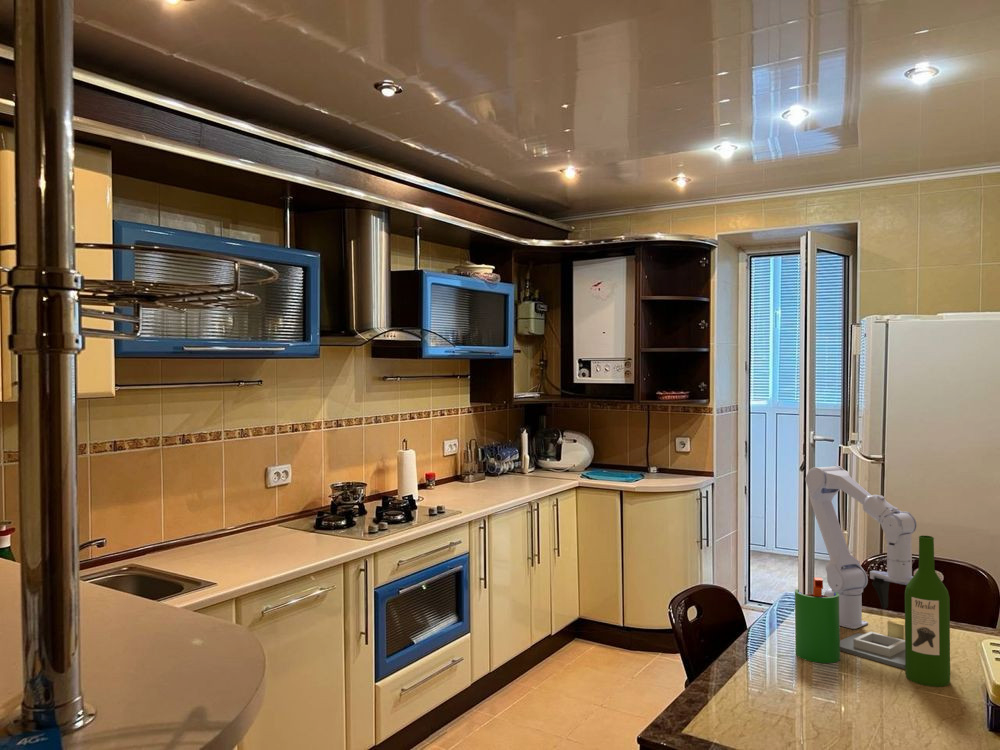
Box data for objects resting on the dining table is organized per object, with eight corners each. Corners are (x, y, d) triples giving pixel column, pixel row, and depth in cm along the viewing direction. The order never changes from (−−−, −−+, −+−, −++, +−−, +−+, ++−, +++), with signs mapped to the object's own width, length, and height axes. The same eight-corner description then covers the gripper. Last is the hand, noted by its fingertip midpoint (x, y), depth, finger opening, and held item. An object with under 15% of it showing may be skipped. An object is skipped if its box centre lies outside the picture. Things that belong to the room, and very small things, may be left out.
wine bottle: (905, 682, 171) (904, 538, 171) (905, 669, 179) (904, 531, 179) (951, 690, 167) (950, 542, 167) (949, 675, 175) (947, 534, 175)
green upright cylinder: (833, 650, 191) (832, 571, 192) (846, 664, 183) (845, 581, 183) (792, 649, 192) (791, 570, 193) (802, 662, 184) (801, 580, 184)
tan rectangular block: (887, 642, 197) (887, 621, 197) (896, 638, 200) (896, 617, 200) (903, 646, 194) (903, 625, 194) (912, 642, 197) (912, 621, 197)
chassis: (831, 648, 193) (831, 636, 193) (858, 636, 202) (858, 625, 202) (904, 669, 179) (904, 656, 179) (930, 655, 188) (930, 643, 188)
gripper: (864, 556, 201) (864, 608, 201) (921, 567, 189) (922, 621, 189) (876, 552, 205) (877, 603, 205) (934, 562, 194) (934, 615, 194)
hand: (899, 611), depth 197 cm, fingers open, 7 cm apart
